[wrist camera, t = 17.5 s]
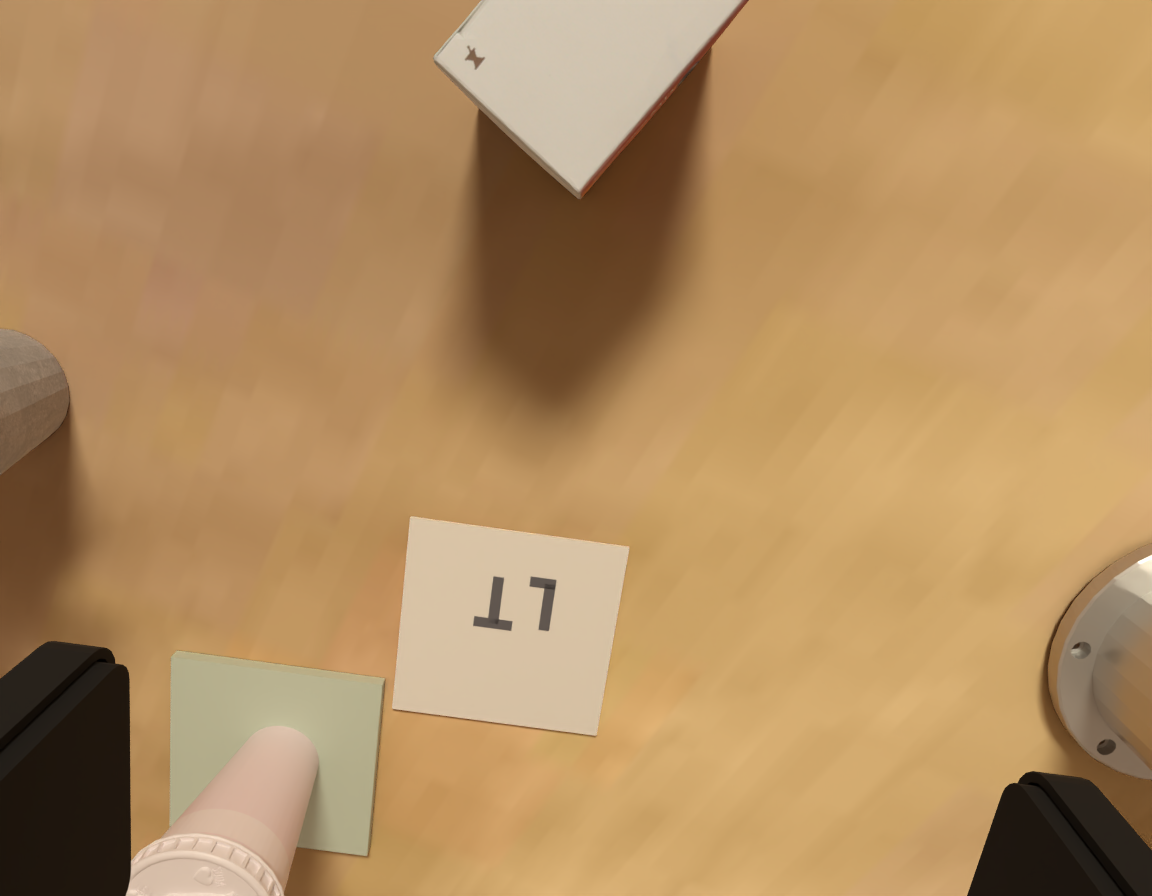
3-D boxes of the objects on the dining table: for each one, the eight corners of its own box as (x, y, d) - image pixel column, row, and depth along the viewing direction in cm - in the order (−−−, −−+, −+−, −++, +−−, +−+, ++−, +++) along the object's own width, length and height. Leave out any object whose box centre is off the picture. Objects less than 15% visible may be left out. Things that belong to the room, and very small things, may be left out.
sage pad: (385, 678, 41) (382, 685, 40) (369, 847, 44) (367, 856, 43) (176, 650, 40) (171, 656, 40) (175, 822, 43) (169, 830, 43)
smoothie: (189, 733, 41) (-3, 994, 28) (300, 680, 40) (157, 922, 27) (262, 831, 43) (114, 1123, 29) (371, 782, 42) (270, 1059, 28)
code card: (629, 546, 39) (629, 548, 38) (596, 733, 41) (596, 736, 41) (410, 516, 38) (410, 517, 38) (393, 706, 41) (392, 709, 41)
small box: (579, 202, 34) (575, 204, 24) (474, 103, 33) (424, 62, 23) (718, 41, 33) (777, -28, 23) (612, -69, 32) (623, -193, 22)
